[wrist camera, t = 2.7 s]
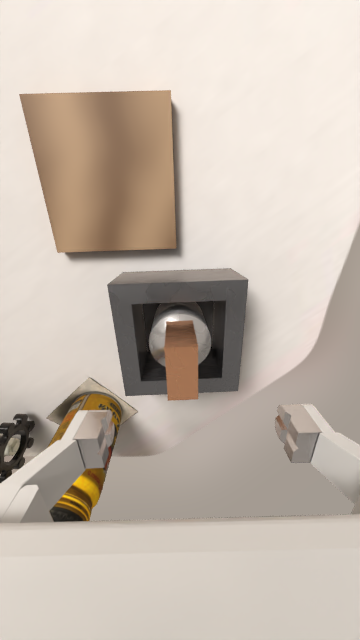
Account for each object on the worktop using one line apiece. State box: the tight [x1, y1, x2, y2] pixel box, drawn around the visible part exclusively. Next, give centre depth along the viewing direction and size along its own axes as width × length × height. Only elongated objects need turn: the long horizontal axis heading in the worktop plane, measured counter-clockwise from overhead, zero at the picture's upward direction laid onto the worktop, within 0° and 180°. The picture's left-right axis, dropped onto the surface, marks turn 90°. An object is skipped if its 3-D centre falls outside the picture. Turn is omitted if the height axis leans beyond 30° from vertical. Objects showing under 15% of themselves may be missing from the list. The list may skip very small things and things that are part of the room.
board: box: [19, 90, 176, 253], centre depth 16 cm, size 10×10×1 cm
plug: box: [149, 302, 211, 400], centre depth 17 cm, size 5×5×9 cm
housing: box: [108, 268, 248, 396], centre depth 19 cm, size 10×10×5 cm
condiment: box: [47, 378, 137, 522], centre depth 21 cm, size 7×8×12 cm
